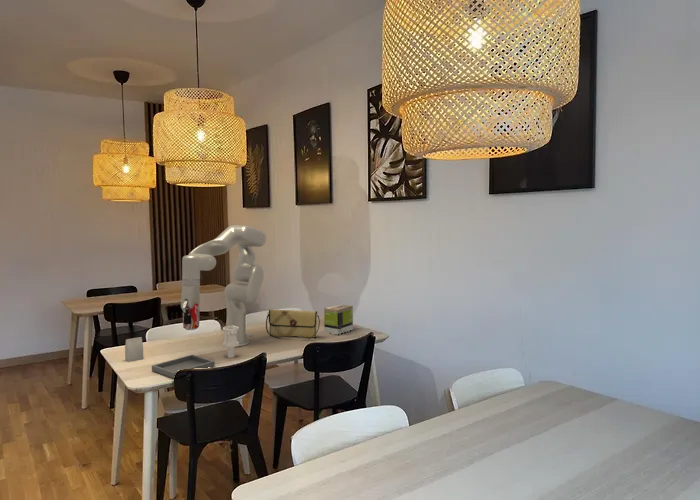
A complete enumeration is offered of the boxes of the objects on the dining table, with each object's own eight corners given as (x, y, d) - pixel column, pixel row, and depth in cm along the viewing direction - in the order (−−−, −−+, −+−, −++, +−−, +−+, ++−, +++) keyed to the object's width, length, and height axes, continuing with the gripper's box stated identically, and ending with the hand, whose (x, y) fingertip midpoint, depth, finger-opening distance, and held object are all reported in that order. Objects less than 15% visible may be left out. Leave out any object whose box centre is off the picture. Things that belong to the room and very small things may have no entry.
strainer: (230, 359, 215) (230, 327, 213) (219, 357, 218) (219, 325, 217) (241, 356, 221) (241, 324, 219) (231, 353, 224) (230, 322, 223)
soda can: (194, 331, 206) (194, 304, 205) (179, 330, 207) (179, 303, 207) (202, 327, 213) (202, 301, 212) (188, 326, 214) (188, 300, 214)
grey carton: (143, 359, 214) (142, 337, 214) (127, 362, 210) (127, 340, 209) (140, 357, 217) (140, 336, 216) (125, 360, 213) (124, 338, 212)
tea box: (339, 328, 278) (339, 303, 276) (353, 330, 272) (353, 305, 271) (323, 333, 265) (323, 307, 264) (337, 335, 259) (337, 309, 258)
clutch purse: (264, 338, 252) (264, 311, 251) (268, 335, 259) (268, 308, 258) (318, 341, 248) (318, 313, 247) (320, 337, 255) (320, 310, 254)
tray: (192, 359, 214) (192, 354, 214) (214, 366, 205) (214, 361, 204) (151, 371, 198) (151, 365, 198) (173, 379, 188) (173, 373, 188)
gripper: (191, 280, 218) (191, 318, 219) (174, 285, 201) (174, 325, 202) (206, 280, 217) (206, 318, 218) (191, 285, 200) (190, 326, 201)
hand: (191, 321), depth 210 cm, fingers closed on soda can, 6 cm apart
